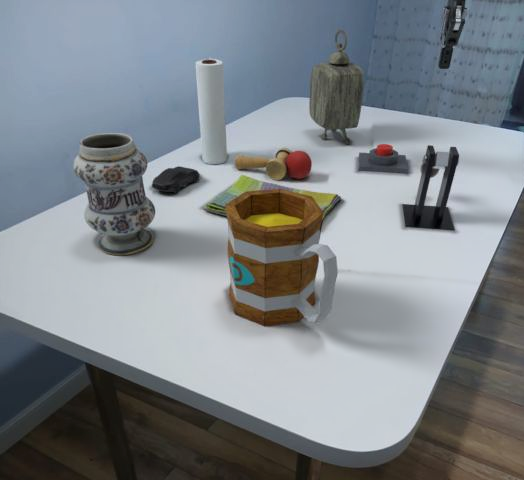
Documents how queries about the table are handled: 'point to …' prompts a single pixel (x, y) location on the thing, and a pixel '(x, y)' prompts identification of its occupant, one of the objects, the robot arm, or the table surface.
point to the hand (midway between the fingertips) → (443, 68)
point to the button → (384, 150)
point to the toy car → (175, 179)
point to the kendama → (279, 164)
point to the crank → (439, 162)
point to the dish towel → (250, 184)
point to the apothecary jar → (115, 192)
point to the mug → (277, 257)
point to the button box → (382, 162)
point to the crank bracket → (440, 213)
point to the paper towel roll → (211, 110)
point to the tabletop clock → (336, 92)
